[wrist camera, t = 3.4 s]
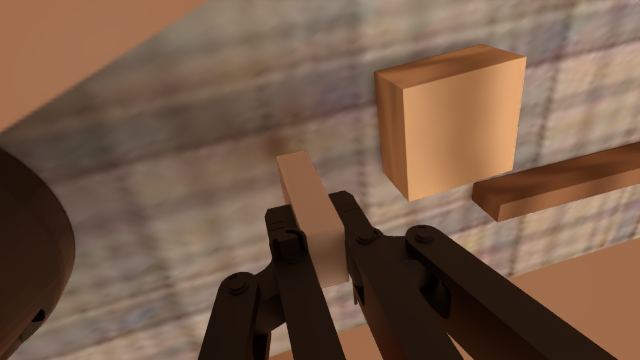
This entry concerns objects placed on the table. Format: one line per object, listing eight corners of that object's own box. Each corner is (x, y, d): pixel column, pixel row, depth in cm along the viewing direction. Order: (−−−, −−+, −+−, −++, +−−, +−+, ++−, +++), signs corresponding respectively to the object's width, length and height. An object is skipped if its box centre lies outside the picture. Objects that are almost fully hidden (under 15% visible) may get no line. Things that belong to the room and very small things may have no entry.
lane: (471, 199, 28) (497, 222, 26) (503, -39, 20) (545, -41, 17) (640, 156, 31) (678, 172, 28) (730, -71, 23) (795, -77, 20)
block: (382, 171, 25) (408, 202, 22) (372, 71, 21) (402, 89, 18) (473, 144, 26) (512, 170, 23) (479, 43, 22) (526, 56, 19)
